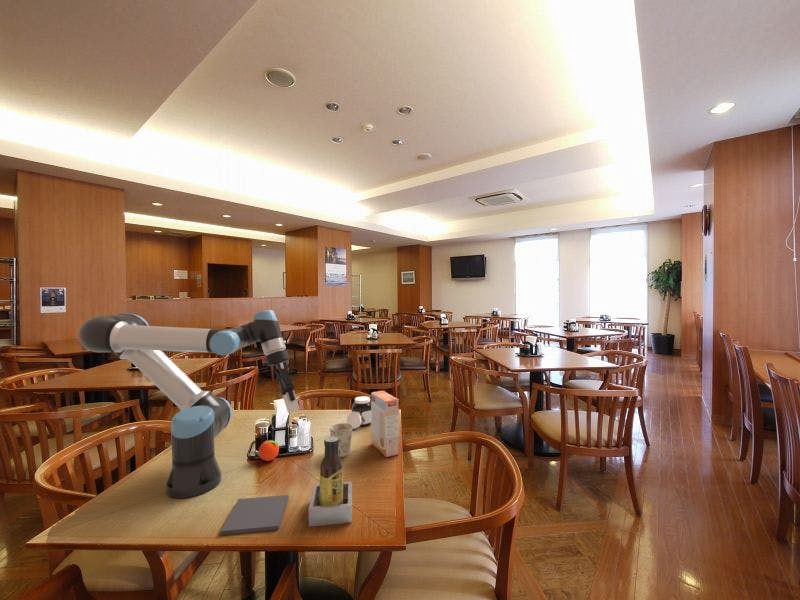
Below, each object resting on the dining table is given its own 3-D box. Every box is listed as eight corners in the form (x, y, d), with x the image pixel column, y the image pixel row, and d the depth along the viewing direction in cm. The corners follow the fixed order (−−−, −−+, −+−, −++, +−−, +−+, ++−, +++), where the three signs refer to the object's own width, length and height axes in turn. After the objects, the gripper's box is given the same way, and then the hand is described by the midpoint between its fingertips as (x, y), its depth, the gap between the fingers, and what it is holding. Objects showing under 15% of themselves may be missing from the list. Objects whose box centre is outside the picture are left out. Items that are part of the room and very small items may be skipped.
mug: (355, 449, 137) (354, 423, 137) (346, 464, 124) (346, 436, 124) (333, 448, 138) (333, 422, 137) (323, 464, 125) (323, 435, 125)
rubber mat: (220, 535, 89) (220, 531, 89) (238, 502, 103) (238, 499, 103) (278, 529, 91) (278, 525, 90) (288, 498, 104) (288, 494, 104)
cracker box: (400, 454, 131) (399, 398, 131) (385, 458, 129) (384, 401, 128) (384, 441, 144) (384, 389, 144) (371, 444, 141) (370, 391, 141)
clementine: (284, 455, 132) (284, 436, 132) (277, 464, 125) (276, 444, 125) (264, 455, 132) (263, 436, 132) (255, 464, 126) (254, 444, 125)
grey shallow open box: (308, 526, 91) (308, 509, 91) (314, 499, 103) (313, 484, 103) (351, 522, 93) (351, 505, 93) (352, 496, 105) (351, 481, 105)
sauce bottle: (335, 520, 94) (334, 445, 94) (315, 515, 96) (314, 442, 96) (347, 506, 100) (346, 436, 100) (328, 501, 102) (327, 433, 102)
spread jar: (373, 420, 168) (373, 395, 168) (373, 429, 156) (373, 403, 156) (348, 421, 167) (347, 396, 167) (346, 430, 156) (345, 404, 156)
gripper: (289, 342, 116) (309, 405, 113) (284, 355, 138) (300, 408, 135) (265, 349, 113) (285, 414, 109) (264, 361, 135) (280, 415, 131)
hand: (293, 411), depth 122 cm, fingers open, 13 cm apart
